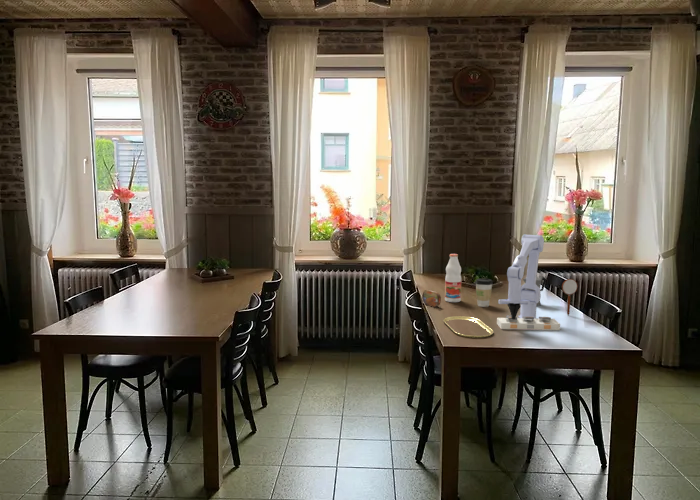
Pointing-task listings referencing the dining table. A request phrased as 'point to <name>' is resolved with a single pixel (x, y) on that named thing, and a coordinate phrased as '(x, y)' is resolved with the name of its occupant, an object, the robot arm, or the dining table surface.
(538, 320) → the switch panel
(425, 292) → the tin
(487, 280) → the coffee cup
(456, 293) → the fruit juice
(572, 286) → the magnifying glass
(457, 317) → the serving platter
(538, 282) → the coffeepot
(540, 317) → the rocker
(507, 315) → the rocker
